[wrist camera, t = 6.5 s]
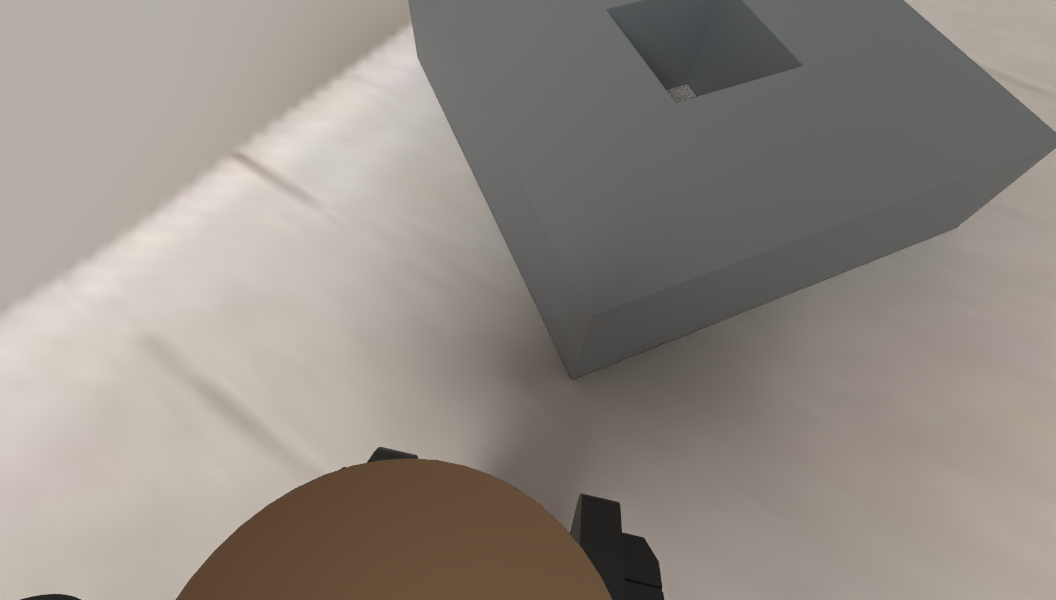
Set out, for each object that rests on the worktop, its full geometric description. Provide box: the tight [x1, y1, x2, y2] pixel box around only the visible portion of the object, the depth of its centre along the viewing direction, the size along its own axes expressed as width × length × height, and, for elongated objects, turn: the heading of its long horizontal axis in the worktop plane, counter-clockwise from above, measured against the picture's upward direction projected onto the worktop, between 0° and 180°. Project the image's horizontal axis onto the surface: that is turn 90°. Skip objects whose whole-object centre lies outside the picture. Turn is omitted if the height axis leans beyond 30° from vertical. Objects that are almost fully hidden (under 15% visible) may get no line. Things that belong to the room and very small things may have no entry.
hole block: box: [408, 0, 1056, 379], centre depth 20 cm, size 16×16×4 cm
